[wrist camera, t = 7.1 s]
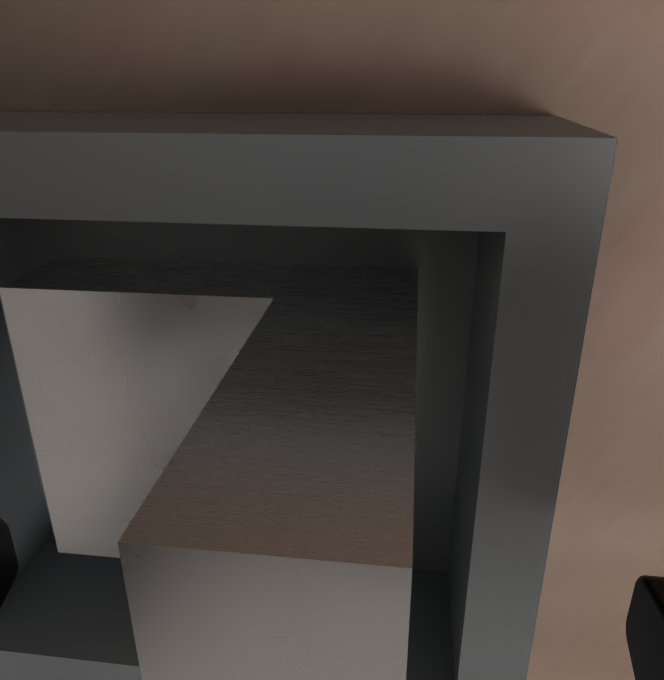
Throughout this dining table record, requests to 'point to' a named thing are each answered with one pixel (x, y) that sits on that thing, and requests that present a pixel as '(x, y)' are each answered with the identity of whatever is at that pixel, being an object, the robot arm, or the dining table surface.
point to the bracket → (232, 454)
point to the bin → (334, 250)
